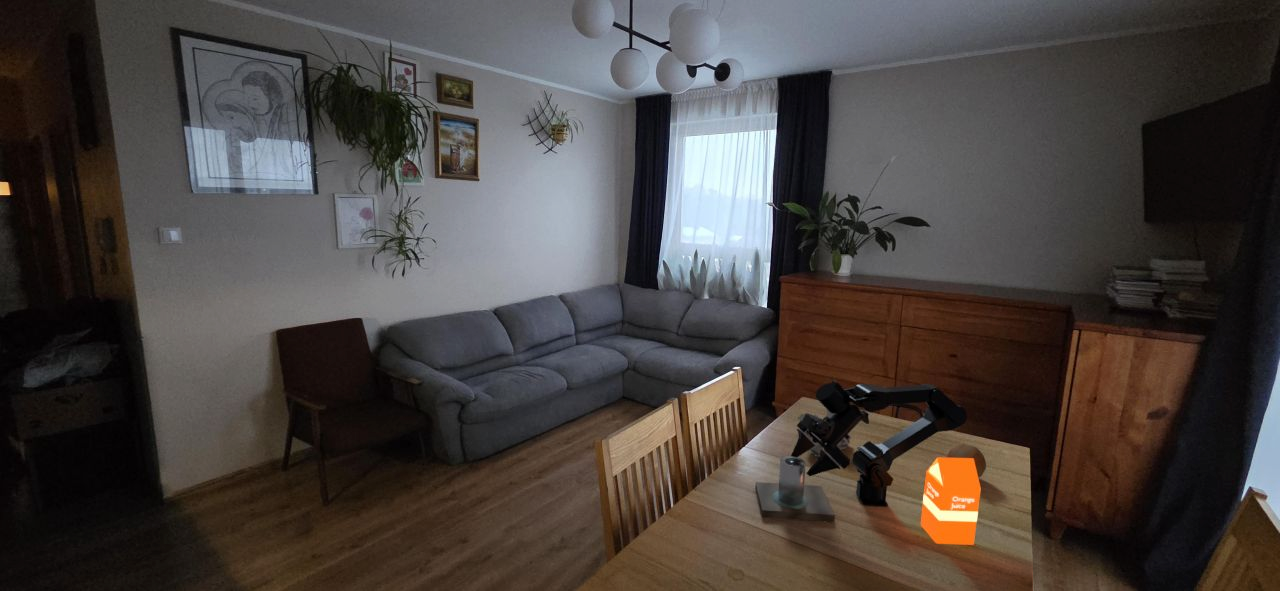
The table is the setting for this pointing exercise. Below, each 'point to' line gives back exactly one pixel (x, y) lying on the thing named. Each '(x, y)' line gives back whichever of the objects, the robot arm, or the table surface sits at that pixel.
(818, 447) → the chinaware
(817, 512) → the walnut board
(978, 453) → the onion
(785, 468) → the silver metal cylinder
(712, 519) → the table surface
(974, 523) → the orange juice
